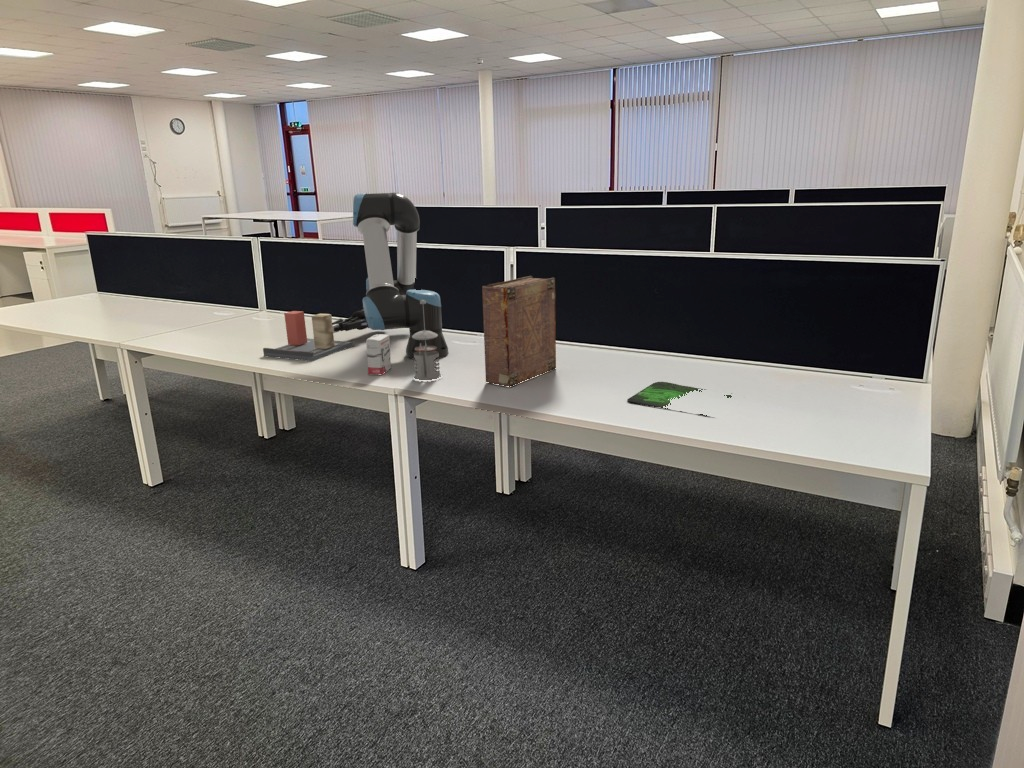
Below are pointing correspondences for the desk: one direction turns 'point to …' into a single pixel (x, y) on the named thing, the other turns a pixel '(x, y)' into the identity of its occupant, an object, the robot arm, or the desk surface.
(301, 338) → the red slider
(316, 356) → the track board
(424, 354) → the french press
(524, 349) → the book
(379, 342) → the ink box
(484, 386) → the desk surface
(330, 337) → the birch slider
